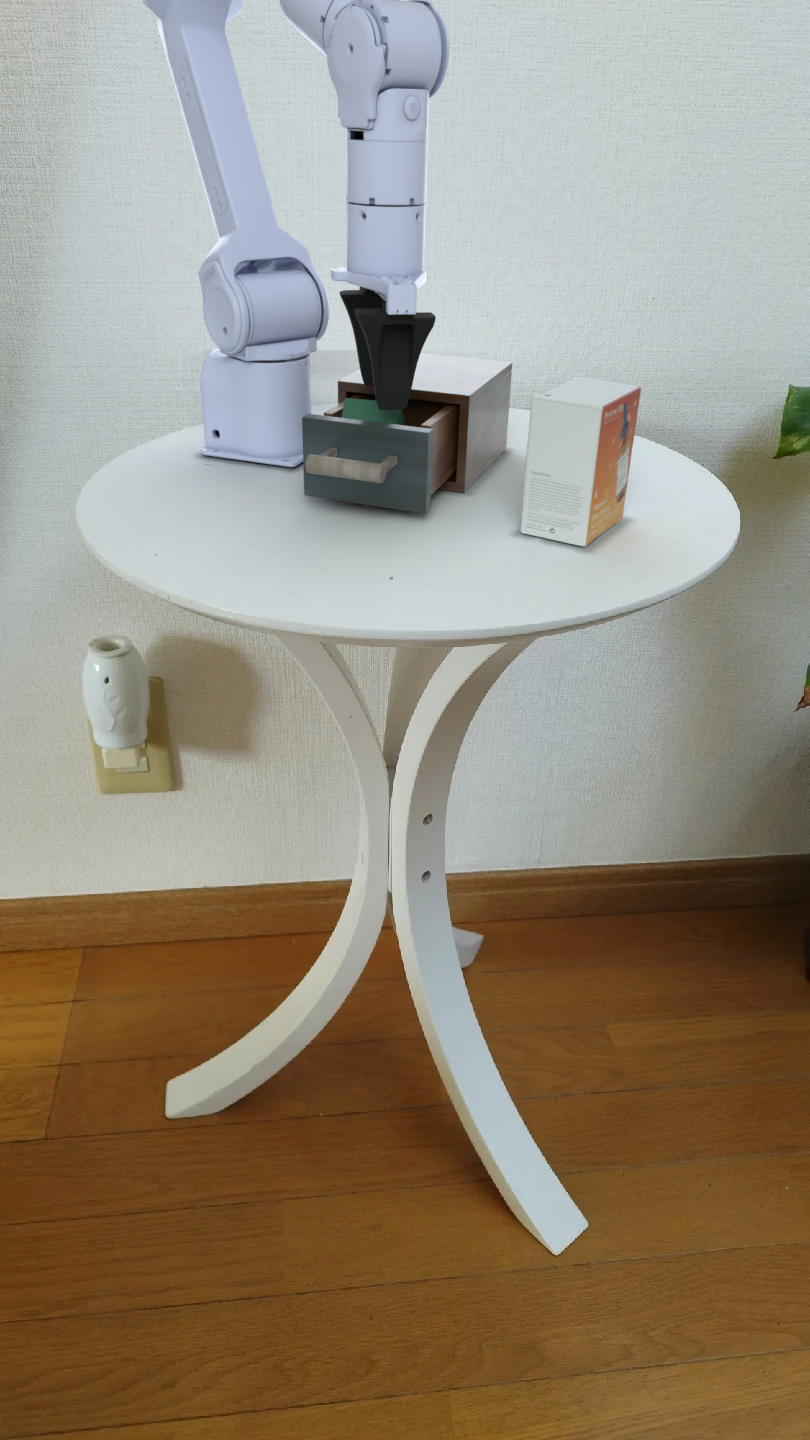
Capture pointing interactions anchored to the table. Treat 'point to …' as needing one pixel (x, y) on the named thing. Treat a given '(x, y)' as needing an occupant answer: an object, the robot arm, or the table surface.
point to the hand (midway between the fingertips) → (383, 396)
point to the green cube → (370, 412)
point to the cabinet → (480, 401)
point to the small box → (578, 459)
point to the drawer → (381, 455)
